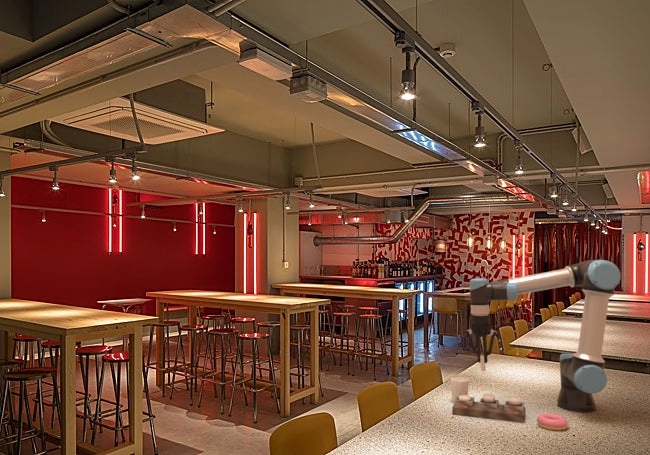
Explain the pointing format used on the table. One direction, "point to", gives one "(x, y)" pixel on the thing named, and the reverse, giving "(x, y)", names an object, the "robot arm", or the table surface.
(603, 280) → the robot arm
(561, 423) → the doughnut
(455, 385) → the tan paper cup
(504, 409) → the panel
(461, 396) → the button far
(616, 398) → the table surface
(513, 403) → the button near
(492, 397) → the button mid
